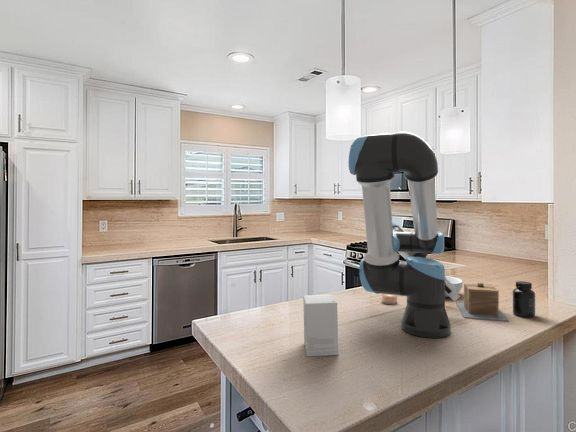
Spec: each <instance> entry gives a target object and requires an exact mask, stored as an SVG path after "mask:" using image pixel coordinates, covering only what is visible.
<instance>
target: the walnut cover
mask: <svg viewBox="0 0 576 432" xmlns="http://www.w3.org/2000/svg"><path fill="white" fill-rule="evenodd" d="M499 291H500V290H498V289H497V287H495V286H494V285H493V284H489V283H483V282H477V283H471V282H470V283H467V282H464V283H463V303H464V307H465V308H466V310H467V312H468V313H469V314H481V315H494V316H498V309H499V310H500V308H499V302H500V301H499V299H500V298H499V294H500V293H499Z"/></svg>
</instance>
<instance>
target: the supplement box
mask: <svg viewBox="0 0 576 432" xmlns="http://www.w3.org/2000/svg"><path fill="white" fill-rule="evenodd" d="M302 298H303V302H302V303H303V339H304V341H303V343H304V348H305V353H306V356H307V357H320V356H321V357H323V356H338V355H339V334H338V333H339V328H338V326H339V325H338V319H339V318H338V302H337V301H336V299H335V298H334V296H333V294H305V295H303V297H302Z"/></svg>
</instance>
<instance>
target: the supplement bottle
mask: <svg viewBox="0 0 576 432" xmlns="http://www.w3.org/2000/svg"><path fill="white" fill-rule="evenodd" d="M532 285H533V284H532V282H530V281H524V280H520V281H519V280H516V281H515V287H516V288H513V290H512V314H513V315H515V316H516V317H520V318H525V319H526V318H527V319H528V318H530V319H531V318H534V317H536V293H535V291H534V290H533V286H532Z"/></svg>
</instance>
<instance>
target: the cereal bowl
mask: <svg viewBox="0 0 576 432" xmlns="http://www.w3.org/2000/svg"><path fill="white" fill-rule="evenodd" d="M445 277H446V279H447V280H449V281H450V282H451V283H452V284H453V285H454V286H455V287H456V288H455V289H454V291H455V292H456V293H457V294H459V293H460V292H461V290H462V288H463V280H462V279H461V278H458V277H455V276H449V275H445ZM447 297H449V296H448V295H447V294H446V293H445V298H447Z"/></svg>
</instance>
